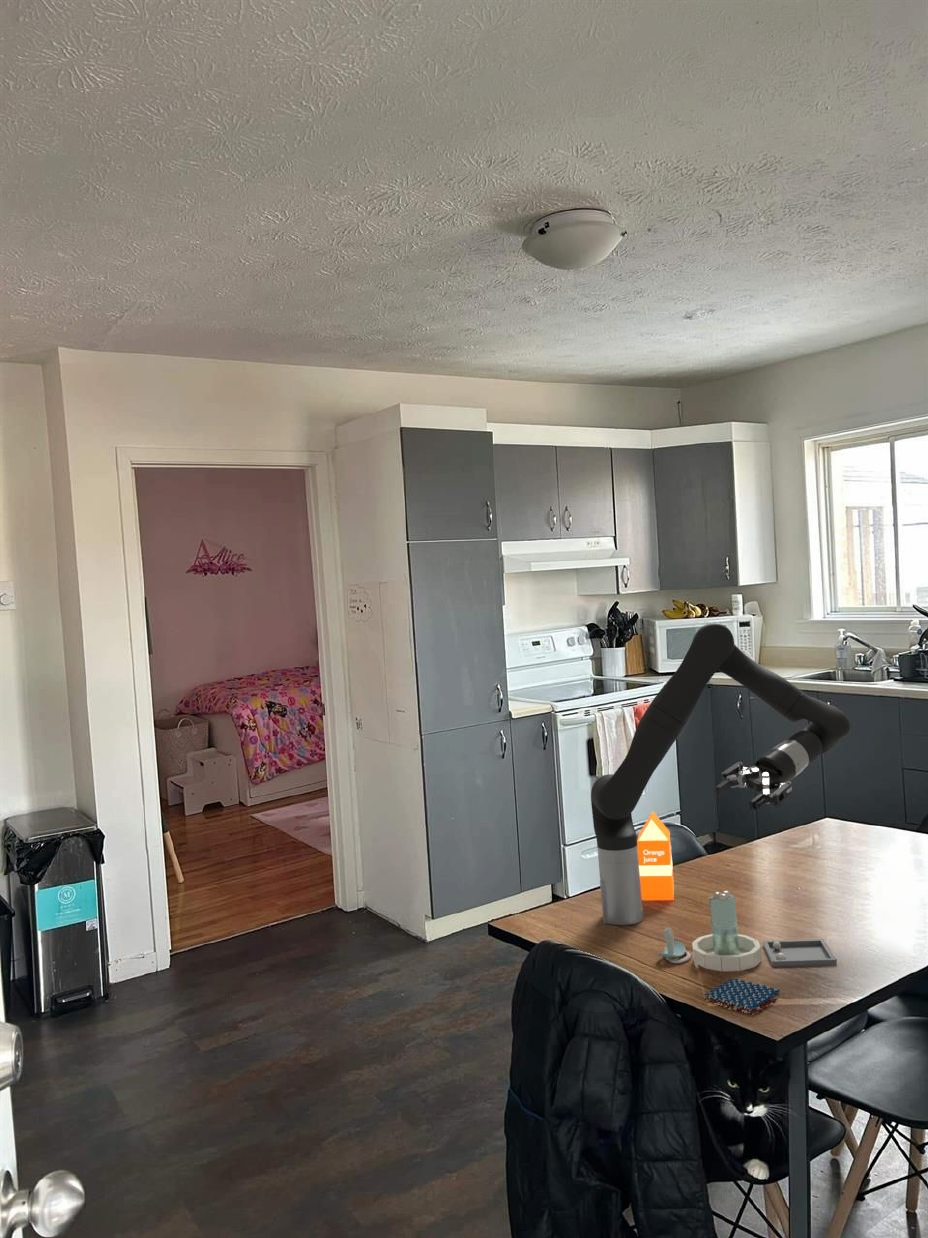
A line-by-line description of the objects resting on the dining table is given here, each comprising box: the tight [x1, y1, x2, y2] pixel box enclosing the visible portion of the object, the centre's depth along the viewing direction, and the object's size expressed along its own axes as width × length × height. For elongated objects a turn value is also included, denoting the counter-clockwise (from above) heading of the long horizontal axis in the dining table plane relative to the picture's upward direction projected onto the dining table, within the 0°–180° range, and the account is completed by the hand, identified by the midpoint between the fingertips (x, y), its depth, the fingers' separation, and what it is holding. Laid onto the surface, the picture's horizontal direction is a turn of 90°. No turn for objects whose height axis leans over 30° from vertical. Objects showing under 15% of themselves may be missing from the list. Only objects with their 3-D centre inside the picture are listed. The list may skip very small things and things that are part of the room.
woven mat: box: [704, 977, 780, 1016], centre depth 175 cm, size 10×11×2 cm
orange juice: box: [637, 810, 675, 901], centre depth 238 cm, size 8×9×20 cm
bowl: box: [691, 933, 762, 972], centre depth 193 cm, size 13×13×4 cm
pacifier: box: [657, 927, 692, 964], centre depth 197 cm, size 7×6×6 cm
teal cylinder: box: [708, 890, 740, 955], centre depth 193 cm, size 5×5×13 cm
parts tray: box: [762, 938, 838, 968], centre depth 191 cm, size 12×11×3 cm
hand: (734, 799), depth 201 cm, fingers open, 8 cm apart
